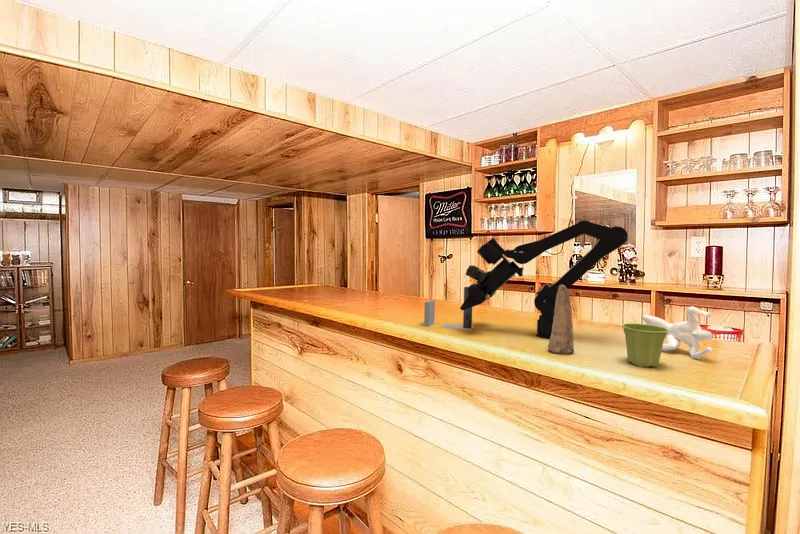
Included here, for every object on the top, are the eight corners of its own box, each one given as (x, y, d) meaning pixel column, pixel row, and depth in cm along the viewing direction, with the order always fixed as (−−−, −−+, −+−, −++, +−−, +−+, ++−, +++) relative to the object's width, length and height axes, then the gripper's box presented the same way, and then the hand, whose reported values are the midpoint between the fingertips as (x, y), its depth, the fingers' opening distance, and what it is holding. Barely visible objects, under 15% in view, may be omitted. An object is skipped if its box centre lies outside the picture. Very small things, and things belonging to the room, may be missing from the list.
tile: (434, 323, 136) (434, 300, 136) (428, 326, 131) (429, 302, 130) (429, 322, 137) (430, 299, 136) (423, 326, 131) (424, 302, 131)
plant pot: (624, 355, 100) (625, 321, 99) (669, 363, 94) (671, 327, 93) (616, 363, 92) (618, 327, 92) (664, 372, 86) (666, 333, 86)
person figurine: (627, 307, 109) (709, 304, 95) (643, 312, 117) (720, 310, 104) (630, 356, 106) (715, 359, 93) (646, 358, 114) (726, 361, 101)
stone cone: (543, 353, 103) (565, 359, 98) (541, 286, 100) (564, 289, 95) (557, 346, 107) (579, 352, 102) (556, 281, 104) (578, 284, 99)
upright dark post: (473, 327, 130) (474, 286, 130) (470, 330, 126) (471, 288, 125) (445, 324, 134) (446, 285, 133) (441, 327, 129) (442, 286, 129)
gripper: (487, 256, 134) (454, 286, 139) (475, 257, 117) (438, 292, 122) (510, 280, 132) (476, 310, 137) (501, 285, 115) (463, 320, 120)
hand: (463, 307), depth 129 cm, fingers open, 7 cm apart
